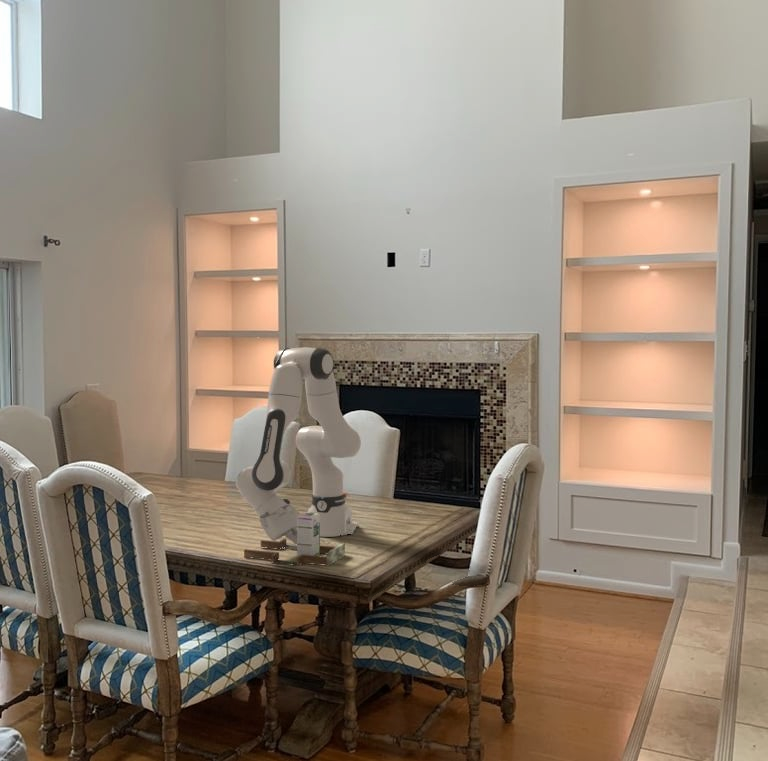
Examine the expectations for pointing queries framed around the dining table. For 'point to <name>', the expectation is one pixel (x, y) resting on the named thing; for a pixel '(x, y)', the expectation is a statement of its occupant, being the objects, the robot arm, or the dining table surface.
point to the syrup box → (308, 534)
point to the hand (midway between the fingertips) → (298, 542)
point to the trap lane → (331, 551)
